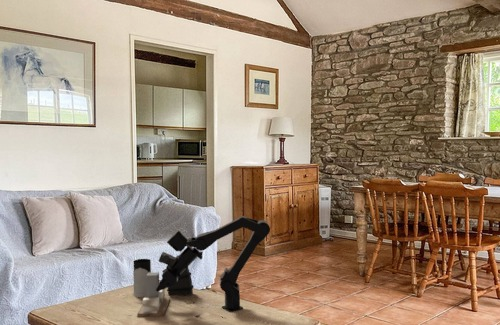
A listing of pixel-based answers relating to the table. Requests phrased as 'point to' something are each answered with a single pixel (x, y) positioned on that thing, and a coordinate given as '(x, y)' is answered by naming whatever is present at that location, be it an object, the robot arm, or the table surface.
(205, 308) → the table surface
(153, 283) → the block
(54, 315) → the table surface
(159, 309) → the board
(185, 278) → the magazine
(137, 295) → the glass holder
